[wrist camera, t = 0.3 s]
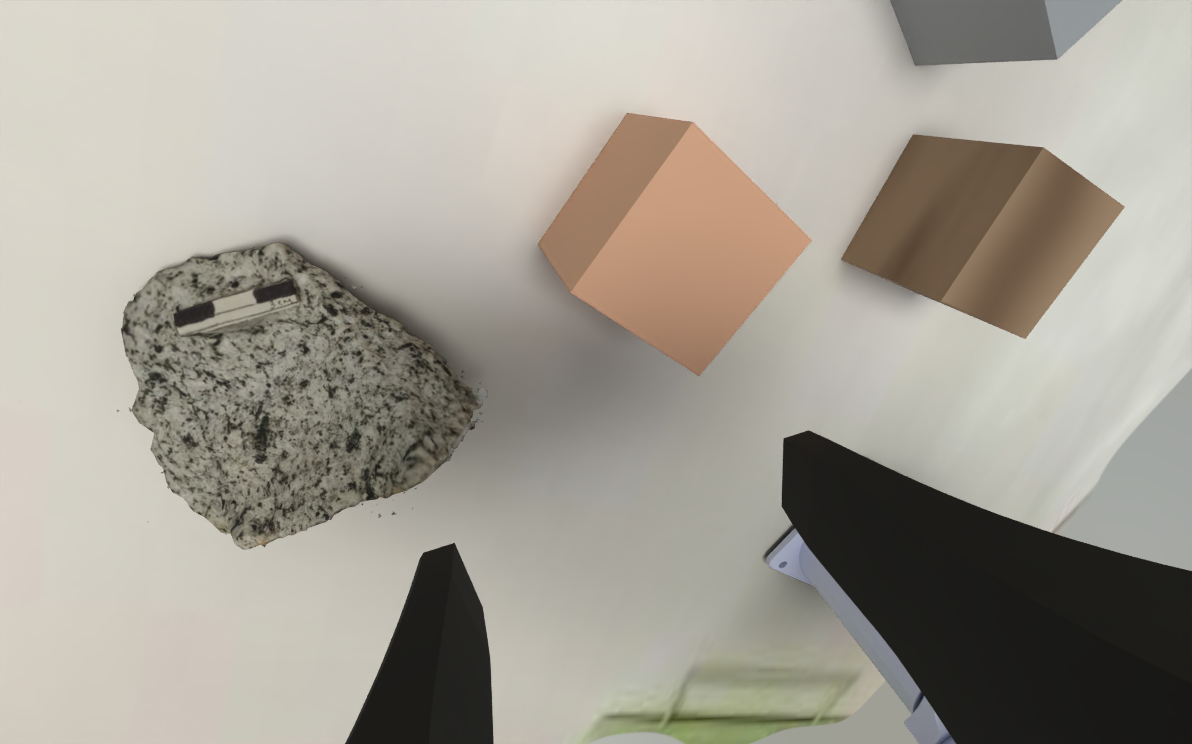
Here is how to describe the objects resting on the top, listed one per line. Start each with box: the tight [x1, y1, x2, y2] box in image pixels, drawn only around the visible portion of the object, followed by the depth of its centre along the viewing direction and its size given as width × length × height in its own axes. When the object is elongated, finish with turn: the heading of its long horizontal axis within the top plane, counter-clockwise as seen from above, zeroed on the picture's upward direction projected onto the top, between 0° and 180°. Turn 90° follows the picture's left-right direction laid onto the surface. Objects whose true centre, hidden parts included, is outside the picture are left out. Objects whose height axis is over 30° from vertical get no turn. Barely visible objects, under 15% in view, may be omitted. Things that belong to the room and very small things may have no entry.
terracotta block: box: [538, 113, 812, 376], centre depth 16 cm, size 5×5×5 cm
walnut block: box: [841, 135, 1124, 339], centre depth 19 cm, size 5×5×5 cm
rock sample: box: [117, 243, 488, 549], centre depth 16 cm, size 10×8×9 cm
